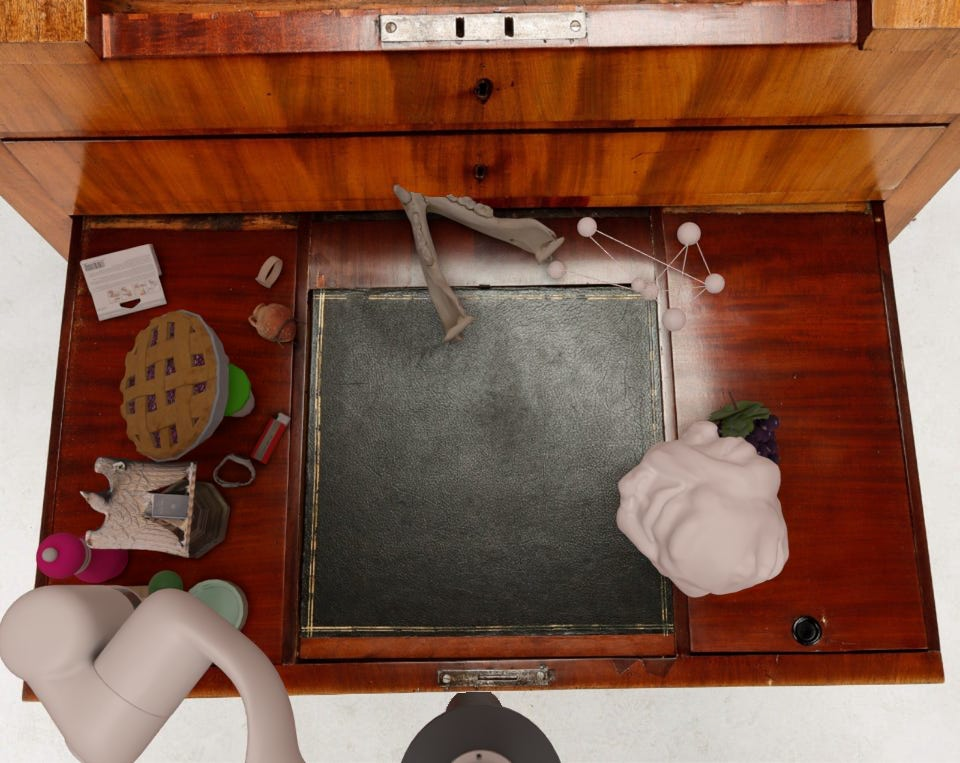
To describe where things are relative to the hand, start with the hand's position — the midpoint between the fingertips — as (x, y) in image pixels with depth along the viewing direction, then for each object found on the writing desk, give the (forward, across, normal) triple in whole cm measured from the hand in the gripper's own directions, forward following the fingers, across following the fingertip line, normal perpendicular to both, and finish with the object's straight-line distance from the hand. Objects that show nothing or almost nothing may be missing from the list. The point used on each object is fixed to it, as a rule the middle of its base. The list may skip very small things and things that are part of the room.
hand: (169, 620), depth 98 cm
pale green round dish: (+35, -4, 0) cm, 35 cm away
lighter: (+34, +2, +22) cm, 40 cm away
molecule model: (+31, +61, +56) cm, 88 cm away
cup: (+34, -1, +32) cm, 47 cm away
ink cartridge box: (+31, -19, +57) cm, 67 cm away
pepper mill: (+35, -21, +9) cm, 41 cm away
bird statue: (+35, -6, +15) cm, 38 cm away
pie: (+26, -6, +32) cm, 42 cm away
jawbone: (+35, +34, +55) cm, 74 cm away
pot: (+30, +8, +45) cm, 55 cm away
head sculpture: (+17, +73, +1) cm, 75 cm away
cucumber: (0, 0, 0) cm, 0 cm away
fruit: (+34, +78, +14) cm, 86 cm away
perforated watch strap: (+35, +5, +52) cm, 63 cm away
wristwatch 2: (+34, -1, +18) cm, 39 cm away
